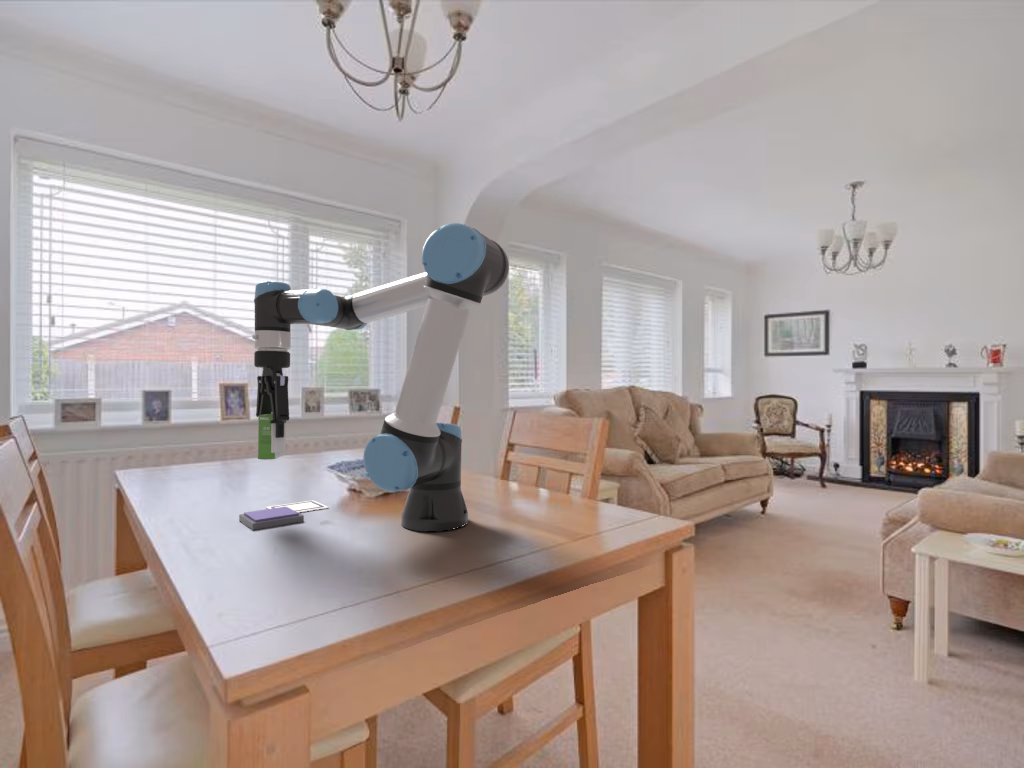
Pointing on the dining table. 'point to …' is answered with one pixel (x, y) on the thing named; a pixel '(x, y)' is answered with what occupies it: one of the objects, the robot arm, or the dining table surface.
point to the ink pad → (270, 517)
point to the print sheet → (302, 506)
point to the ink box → (265, 438)
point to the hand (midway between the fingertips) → (271, 450)
